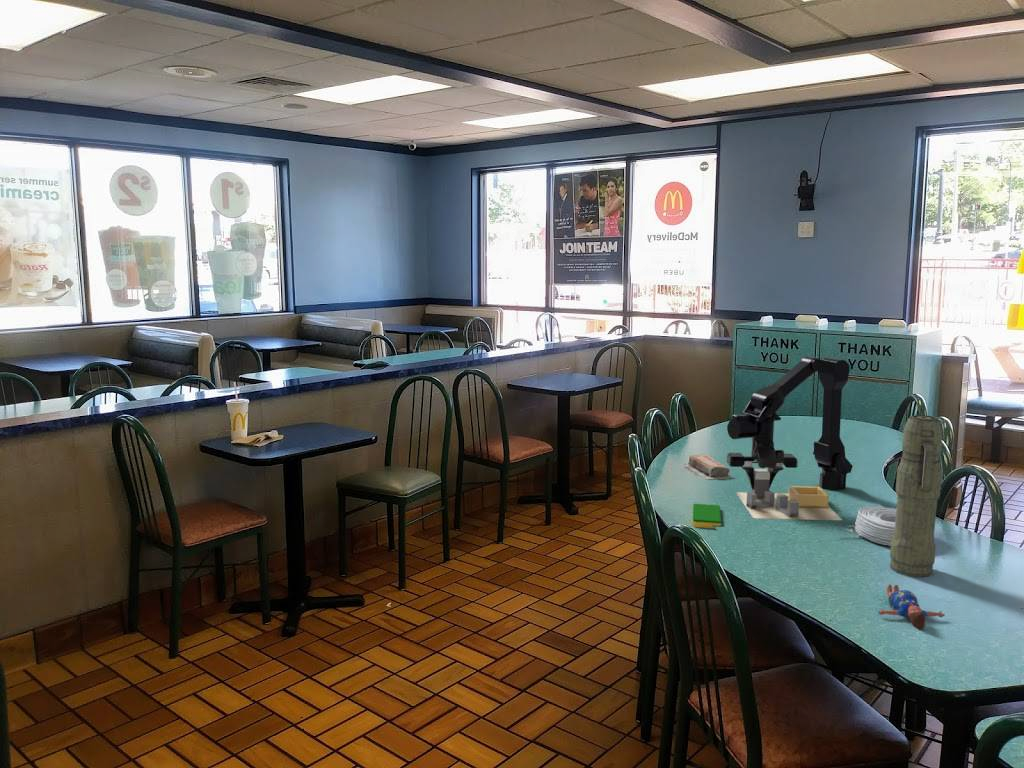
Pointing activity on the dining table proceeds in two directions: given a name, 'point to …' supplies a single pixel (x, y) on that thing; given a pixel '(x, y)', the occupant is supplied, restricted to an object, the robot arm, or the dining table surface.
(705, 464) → the packaged product
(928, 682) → the dining table surface
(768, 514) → the board
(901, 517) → the thermos
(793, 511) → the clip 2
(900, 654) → the dining table surface
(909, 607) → the toy character
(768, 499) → the clip
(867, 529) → the cable
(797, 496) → the end holder
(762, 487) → the connector plug
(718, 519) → the dish sponge
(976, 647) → the dining table surface
